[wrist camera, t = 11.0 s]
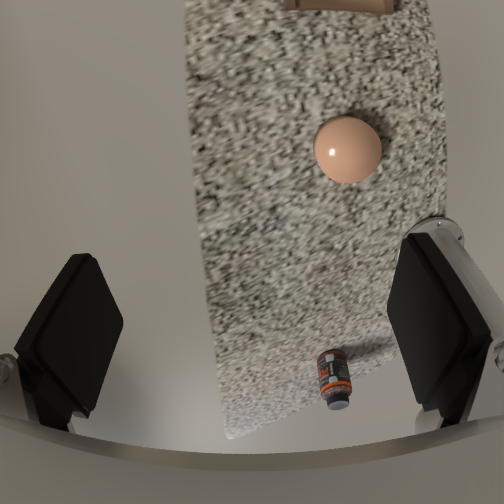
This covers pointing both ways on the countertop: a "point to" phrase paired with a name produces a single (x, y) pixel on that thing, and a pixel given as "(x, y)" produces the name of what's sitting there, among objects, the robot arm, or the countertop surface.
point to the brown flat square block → (342, 5)
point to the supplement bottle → (334, 379)
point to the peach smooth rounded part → (347, 149)
